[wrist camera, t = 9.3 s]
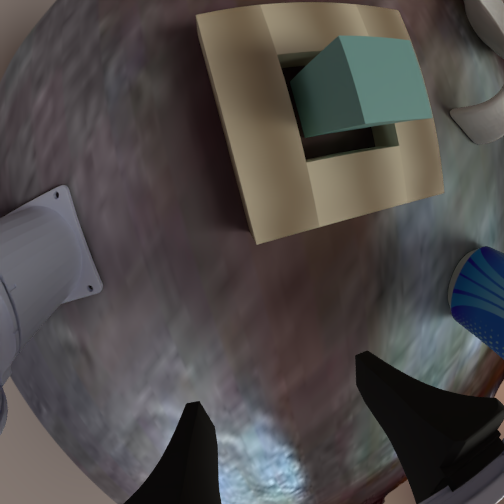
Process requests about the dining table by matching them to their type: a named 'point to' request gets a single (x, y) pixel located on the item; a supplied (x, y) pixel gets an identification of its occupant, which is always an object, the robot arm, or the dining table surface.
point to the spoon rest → (500, 106)
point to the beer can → (480, 296)
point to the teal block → (360, 86)
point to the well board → (285, 126)
